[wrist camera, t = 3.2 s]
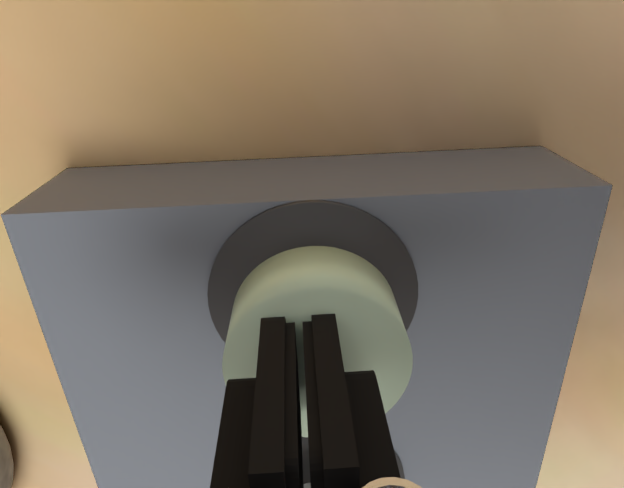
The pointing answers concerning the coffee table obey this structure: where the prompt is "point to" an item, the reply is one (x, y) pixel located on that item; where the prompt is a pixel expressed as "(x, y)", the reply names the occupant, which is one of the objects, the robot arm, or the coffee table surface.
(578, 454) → the coffee table surface
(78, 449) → the coffee table surface
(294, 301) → the sage button
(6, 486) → the dish
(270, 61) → the coffee table surface
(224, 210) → the console
